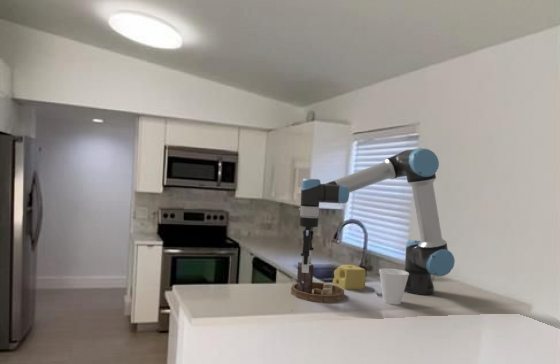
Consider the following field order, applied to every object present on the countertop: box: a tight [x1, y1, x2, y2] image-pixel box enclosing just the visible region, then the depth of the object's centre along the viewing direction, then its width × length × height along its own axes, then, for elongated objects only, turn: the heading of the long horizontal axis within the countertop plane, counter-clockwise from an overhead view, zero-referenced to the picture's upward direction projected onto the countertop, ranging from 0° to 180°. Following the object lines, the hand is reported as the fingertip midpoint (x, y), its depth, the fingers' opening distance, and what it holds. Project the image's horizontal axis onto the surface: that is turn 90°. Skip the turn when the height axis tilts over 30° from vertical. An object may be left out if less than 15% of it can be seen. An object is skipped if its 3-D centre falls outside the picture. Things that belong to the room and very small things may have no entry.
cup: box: [378, 268, 409, 306], centre depth 174 cm, size 12×12×12 cm
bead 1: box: [323, 282, 333, 289], centre depth 176 cm, size 4×4×4 cm
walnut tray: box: [290, 281, 345, 303], centre depth 173 cm, size 21×21×4 cm
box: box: [296, 261, 314, 294], centre depth 173 cm, size 6×4×12 cm
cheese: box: [332, 264, 367, 290], centre depth 191 cm, size 10×11×10 cm
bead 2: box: [322, 288, 332, 295], centre depth 168 cm, size 4×4×4 cm
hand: (306, 269), depth 174 cm, fingers open, 13 cm apart
